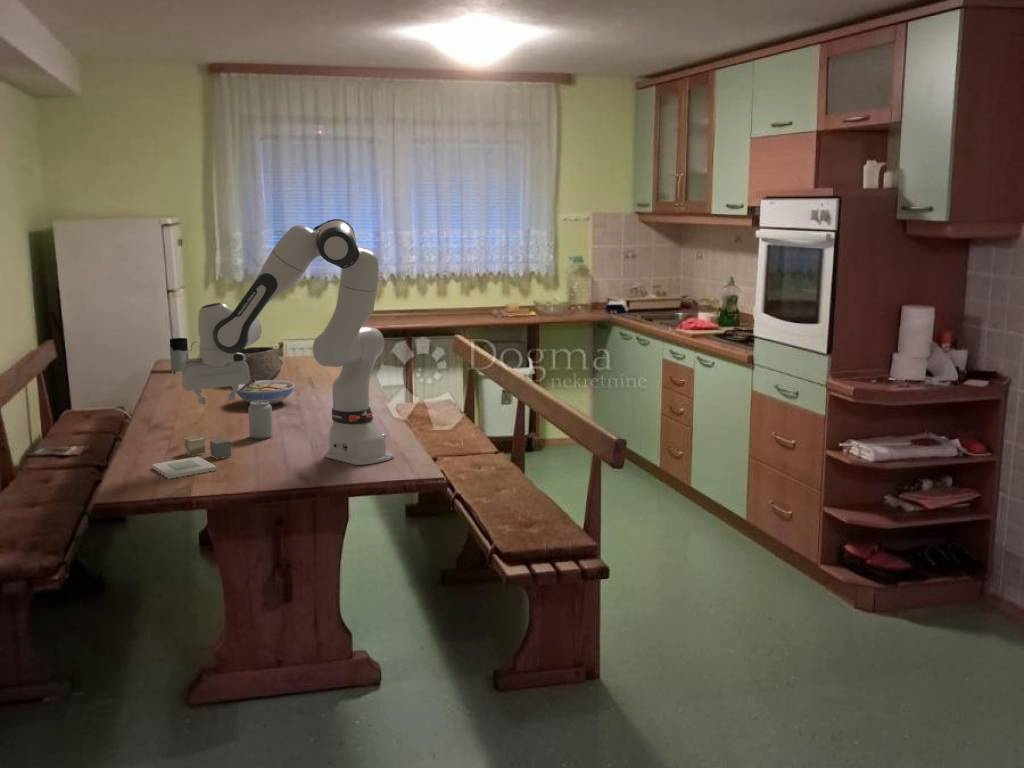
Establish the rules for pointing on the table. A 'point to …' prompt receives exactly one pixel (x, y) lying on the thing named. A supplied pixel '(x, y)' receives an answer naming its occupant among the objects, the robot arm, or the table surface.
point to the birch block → (194, 445)
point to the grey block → (220, 448)
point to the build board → (184, 467)
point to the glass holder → (179, 353)
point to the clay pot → (262, 362)
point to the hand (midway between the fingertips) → (217, 401)
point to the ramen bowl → (265, 390)
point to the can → (260, 419)
